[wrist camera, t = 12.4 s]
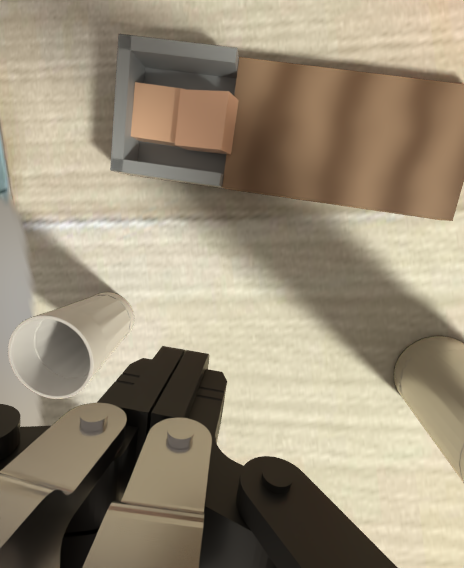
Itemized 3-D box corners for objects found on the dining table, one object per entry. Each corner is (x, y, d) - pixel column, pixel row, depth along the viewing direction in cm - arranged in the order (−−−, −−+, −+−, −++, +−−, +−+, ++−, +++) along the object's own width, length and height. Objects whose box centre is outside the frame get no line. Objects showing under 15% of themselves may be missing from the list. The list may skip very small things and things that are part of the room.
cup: (70, 290, 42) (-4, 322, 31) (132, 280, 41) (79, 309, 30) (87, 351, 44) (23, 403, 32) (147, 343, 43) (103, 393, 31)
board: (474, 96, 34) (490, 87, 31) (440, 219, 36) (452, 220, 34) (241, 67, 35) (239, 56, 33) (224, 188, 38) (222, 187, 35)
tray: (240, 67, 35) (237, 47, 31) (224, 188, 38) (219, 186, 34) (136, 54, 36) (118, 33, 32) (127, 174, 39) (110, 170, 34)
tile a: (238, 100, 33) (229, 91, 31) (230, 154, 35) (221, 149, 32) (192, 98, 35) (180, 89, 33) (186, 150, 36) (174, 145, 34)
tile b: (190, 97, 36) (185, 88, 33) (184, 147, 37) (179, 143, 35) (143, 90, 36) (134, 82, 34) (139, 141, 37) (130, 136, 35)
